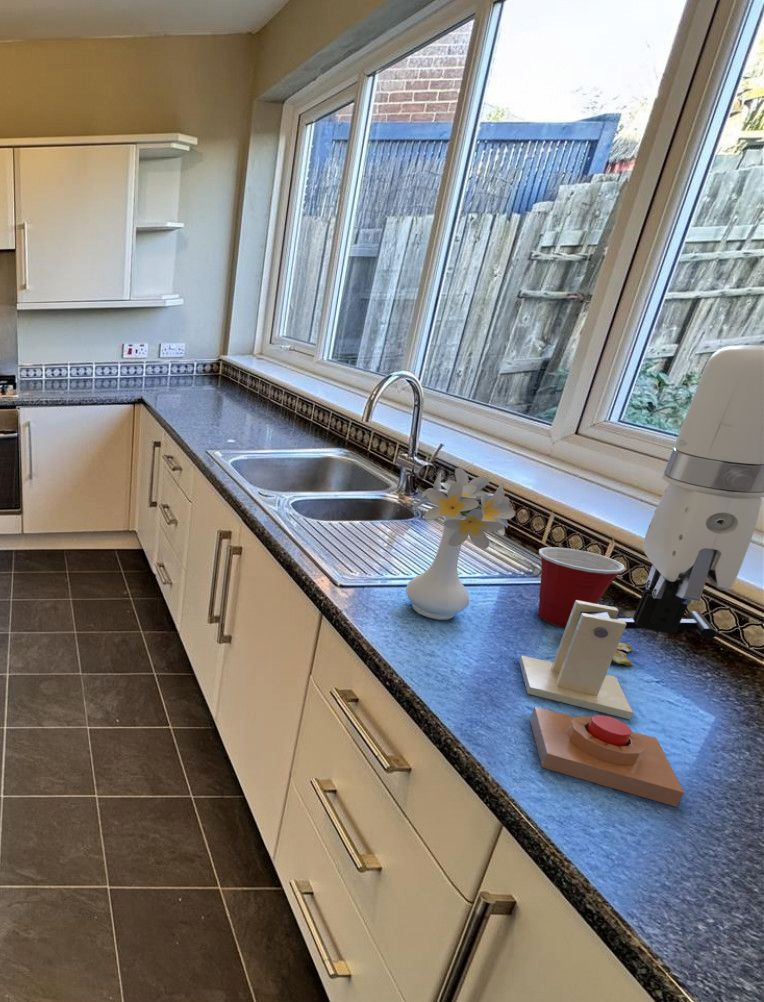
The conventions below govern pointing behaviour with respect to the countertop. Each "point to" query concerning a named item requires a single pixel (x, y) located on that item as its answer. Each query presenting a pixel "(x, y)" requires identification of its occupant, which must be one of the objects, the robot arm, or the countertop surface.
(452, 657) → the countertop surface
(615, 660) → the fruit
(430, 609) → the flower vase
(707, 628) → the black t-handle lever
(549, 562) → the plastic cup
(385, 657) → the countertop surface
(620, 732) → the red button
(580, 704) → the lever bracket
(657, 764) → the control block
